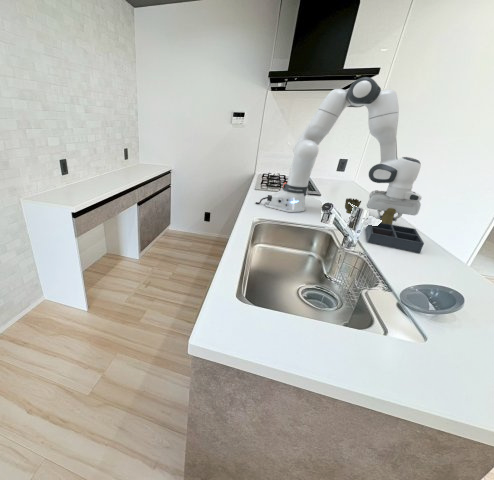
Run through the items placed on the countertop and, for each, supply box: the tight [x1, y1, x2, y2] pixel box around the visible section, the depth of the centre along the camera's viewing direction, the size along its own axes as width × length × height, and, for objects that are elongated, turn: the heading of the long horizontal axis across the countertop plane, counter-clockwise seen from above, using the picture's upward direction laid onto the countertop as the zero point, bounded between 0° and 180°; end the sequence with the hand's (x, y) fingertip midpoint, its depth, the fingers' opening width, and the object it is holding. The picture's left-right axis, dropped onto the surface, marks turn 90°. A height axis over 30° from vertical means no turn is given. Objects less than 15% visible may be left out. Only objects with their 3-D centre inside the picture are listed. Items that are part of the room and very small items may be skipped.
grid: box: [365, 223, 425, 254], centre depth 117 cm, size 18×18×5 cm
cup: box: [344, 197, 362, 215], centre depth 148 cm, size 8×7×8 cm
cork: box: [379, 208, 397, 225], centre depth 129 cm, size 6×6×11 cm
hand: (386, 219), depth 130 cm, fingers closed on cork, 4 cm apart
